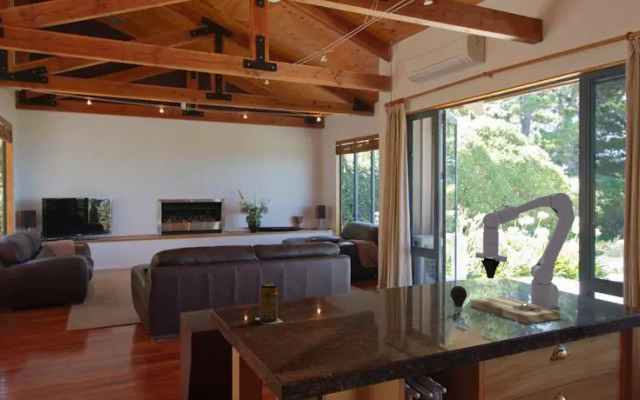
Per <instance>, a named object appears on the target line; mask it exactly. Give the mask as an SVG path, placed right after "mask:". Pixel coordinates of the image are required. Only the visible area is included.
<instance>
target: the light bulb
mask: <svg viewBox="0 0 640 400" xmlns="http://www.w3.org/2000/svg"><path fill="white" fill-rule="evenodd" d="M467 295H468V293H467V290H466V288H465V287H463V286H462V285H455V286H453V287H452V288H451V290H450V297H451V300H452V302H453V305H454V312H455V313H456V314H457V315H460V314H461V313H463V306H464V302H465V301H466V299H467Z"/></svg>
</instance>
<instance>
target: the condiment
mask: <svg viewBox="0 0 640 400" xmlns="http://www.w3.org/2000/svg"><path fill="white" fill-rule="evenodd" d="M277 287H278V285H277V284H276V283H271V282H270V283H269V282H268V283H263V284H261V286H260V293H259V317H255V318H254V319H255V320H256V321H257V322H260V324H262V325H272V324H279V323H284V321H283V320H282V319H279V318H278V315H279V313H278V312H279V311H278V310H279V309H278V308H279V306H278V305H279V297H278V296H279V294H278V290H277Z"/></svg>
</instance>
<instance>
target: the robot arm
mask: <svg viewBox="0 0 640 400" xmlns="http://www.w3.org/2000/svg"><path fill="white" fill-rule="evenodd" d="M540 207H541V208H543V207H544V208H550V209H551V210H552V211H553V212H554V213H555V215H556V217H557V219H558V220H557V222H556V224H555V227H554V229H553V231H552V233H551V235H550V237H549V239H548V242H547V243H546V246H545V248H544V250H543V252H542V255H541V256H540V258H539V259H538V260H537V262H536V263H535V265H533V266H532V268H531V270H530V274H531V276H532V278H533V279H532V280H531V282H530V284H531V285H530V286H531V288H530V289H531V290H530V291H531V293H530V297H531V300H530V304H534V305H538V306H542V307H545V308H549V309H556V308H561V305H559V289H558V286H557V285H556V284H555V283H553V282H552V281H553V278H554V270H555V266H556V262H557V261H556V260H557V259H558V258H559V254H560V252H561V250H562V248H563V245H564V244H565V242H566V239H567V238H568V235H569V233H570V230H571V229H572V225H573V224H574V222H575V214H574V208H573V207H574V206H573V201H572V199H571V198H570V197H569V195H568V194H567V193H565V192H553V193H550V194H546V195H541V196H538V197H536V198H534V199H531V200H529V201H526V202H524V203H520V204H519V205H517V206H516V205H513V204H510V205H509V204H506V205H504V207H502V208H500V209H497V210H496V209H494V210H492V212H489V213H486V214H485V215H484V216H483V218H482V224H483V232H482V233H483V234H482V237H483V238H482V252H475V258H477V259H478V258H479V259H481V263H482V265H483V268H484V270H485V273H486V274H485V275H486V277H487V279H495V278H494V277H495V274H496V270H497V268H498V267H499V265H500V263H507V262H508V257H507V256H505V255H504V256H503V255H500V254H499V250H500V249H499V245H500V244H499V238H500V237H499V235H500V233H499V225H500V224H501V225H504V224H506V223H509V222H512V221H514V220H517V219H518V218H519V217H520V215H521V214H523V213H526V212H529V211H532V210H535V209H537V208H540Z"/></svg>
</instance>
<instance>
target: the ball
mask: <svg viewBox="0 0 640 400" xmlns="http://www.w3.org/2000/svg"><path fill="white" fill-rule="evenodd" d="M519 309H520V310H525V311H531V308H530V307H529V306H528V305H526V304H522V305H520V307H519Z"/></svg>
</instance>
